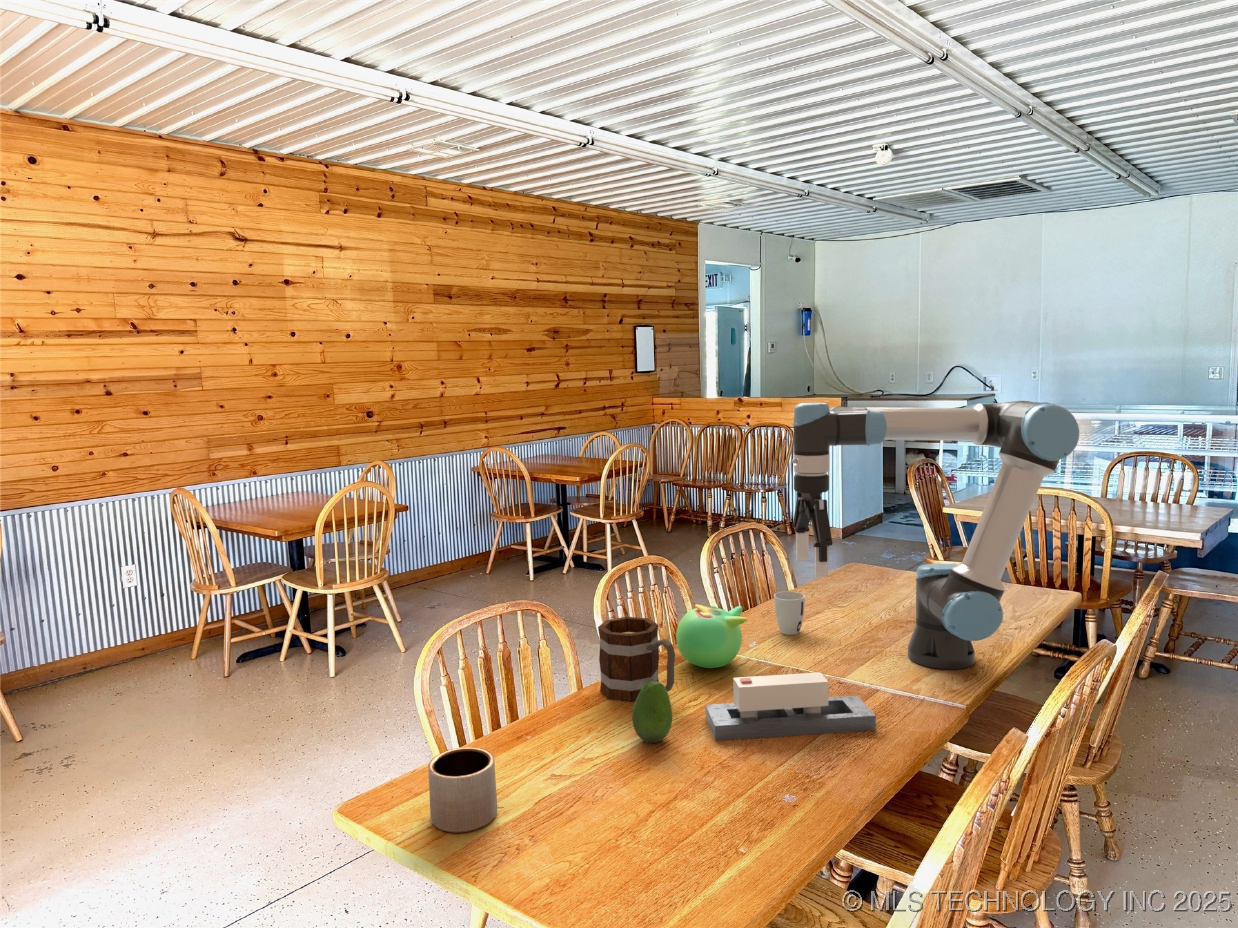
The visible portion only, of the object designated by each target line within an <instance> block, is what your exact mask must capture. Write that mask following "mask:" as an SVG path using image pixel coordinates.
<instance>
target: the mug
mask: <svg viewBox="0 0 1238 928" xmlns="http://www.w3.org/2000/svg"><path fill="white" fill-rule="evenodd" d="M597 630H598V636H599V657H598V658H599V659H598V660H599V668H600V669H599V670H600V686H599V687H600V689H599V692H600V693H601V694H602V695H603V696H604V697H606V698H607V699H608V700H609V701H618V702H623V703H624V702H625V703H635V701H636V699H637V697H638V695H639V693H640V690H641V689H642V687H643V686H644V684H646V683H648V682H650V681H658V682H660V679H659V661H660V653H659V652H660V651H659V647H661V646H663V647H665V649H666V653H667V662H666V685H665V688H666V690H667V692H669V691H671V690H672V689H673V687H674V683H675V662H676V660H675V659H676V652H675V649H674V645H673V643H672V642H671V641H669V640H668V639H667V638H664V639H658V634H659V624H658V623H657V622H655V621H653V620H652V619H650V618H648V617H647V618H646V617H636V616H635V617H634V616H623V617H617V618H610V619H606V620H604V621H603V622H601V624H599V626H598V627H597Z"/></svg>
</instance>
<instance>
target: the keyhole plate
mask: <svg viewBox="0 0 1238 928" xmlns="http://www.w3.org/2000/svg"><path fill="white" fill-rule="evenodd" d="M876 719H877V717H876V714H875V713H874V712H873V711H872V710H871V709H870V707H868V705H867V704H866V703H865V702H864V701H863V700H862V699H861V698H860V697H859V695H858V694H857V695H841V696H828V706H821V713H811V714H804V707H803V708H788V709H774V710H759V711H757V718H756V717H748V718H740V712H739V710H738V709H737V707H736V705H735V703H734V702H729V703H728V702H727V703H714V704H713V703H712V704H705V720H706V723H707V725H708V728H709V730H710V733H711V734H712V737H713V738H714V741H716V742H717V741H718V742H719V741H730V740H731V741H732V740H745V739H746V740H747V739H759V738H774V737H775V738H776V737H791V736H793V737H794V736H808V735H810V736H811V735H822V734H823V735H824V734H835V733H836V734H837V733H839V734H840V733H853V732H854V733H855V732H867V731H868V732H869V731H876V730H877V727H876V725H877V724H876V723H877V722H876V721H877V720H876Z"/></svg>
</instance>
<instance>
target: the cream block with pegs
mask: <svg viewBox="0 0 1238 928" xmlns="http://www.w3.org/2000/svg"><path fill="white" fill-rule="evenodd" d="M732 681H733V683H732V685H733V687H732V688H733V693H732V694H733V703H735V705H736V707H737V709H738V710H739V712H740V718H748V717H756V718H757V711H759V710H774V709H788V708H803V707H804V714H811V713H821V706H828V697H829V680H828V679H827V678H826V677H825V676H824V675H823V674H822V673H821V672H820V671H819V672H818V671H817V672H805V673H803V672H801V673H788V674H776V675H775V674H773V675H758V676H755V675H754V676H742V677H739V676H738V677H733V679H732Z"/></svg>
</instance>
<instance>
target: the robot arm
mask: <svg viewBox="0 0 1238 928" xmlns="http://www.w3.org/2000/svg"><path fill="white" fill-rule="evenodd" d="M792 426H793V459H791V463H792V464H793V472H795V474H794V475H793V489H794V492H796V503H795V508H794V515H793V521H792V528H793V529H794V531H795V547H796V548H795V558H796V559H795V561H796V562H808V561H809V559H810V555H809V554H810V553H809V551H810V550H809V549H810V547H809V546H810V545H809V539H810V537H809V535H810V534H809V532H811V530H810V528H809V526H810V525H809V524H810V522H811V528H812V531H813V536H814V539H815V543H814V544H813V546H812V547H813V548H814V577H818V578H819V577H829V547H830V546H833V537H832V533H831V532H832V531H831V525H830V518H829V512H828V500H827V499H822V494H823V493H827V492H829V490H830V475H829V474H828V472H830V447H833V446H834V447H837V446H867V447H869V446H871V445H881V444H882V443H884V442H885V440H886V441H887V440H888V441H889V440H890V441H893V440H894V441H896V440H897V441H953V442H954V441H961V442H962V441H963V442H964V441H965V442H966V441H967V442H969V441H970V442H972V443H973V444H974V445H975V446H989V447H997V448H1000V449H999V452H998V455H999V457H1000V460H1001V461H1002V465H1001V467H1000V469H999V472H998V474H997V477H996V479H995V480H994V483H993V486H992V489H991V490H990V494H989V496H988V498H987V500H986V503H985V505H984V508H983V511H982V514H981V515H980V517H979V521H978V523H977V525H976V527H975V529H974V532H973V534H972V537H971V540H970V541H969V544H968V547H967V549H966V551H965V554H964V556H963V559H962V562H961V563H960V564H954V563H928V564H927V563H926V564H921V565H919V566H918V568H917V569H916V576H915V591H916V592H915V626H914V629H913V632H912V634H911V637H910V639H909V641H908V645H907V657H908V659H909V660H910V661H911V662H914V663H915V664H918V665H920V666H924V667H927V668H934V669H941V670H961V669H966V668H969V667H971V666H973V665H975V661H976V660H975V659H976V657H975V656H976V652H975V649H974V644H973V642H978V641H982V640H984V639H988V638H989V637H992V635H994V634H995V633H996V632H997V631H998V630H999V629H1000V627H1001V624H1002V622H1003V619H1004V618H1003V617H1004V610H1003V609H1002V604H1001V600H1002V598H1003V594H1004V593H1005V590H1006V588H1005V585H1004V583H1003V581H1002V578H1003V576H1004V575H1003V574H1004V572H1005V569H1006V568H1007V565H1008V563H1009V561H1010V558H1011V556H1012V553H1013V551H1014V548H1015V546H1016V544H1017V541H1018V539H1019V537H1020V534H1021V532H1022V530H1023V528H1024V526H1025V522H1026V521H1027V520H1026V519H1028V518H1027V517H1028V515H1029V513H1030V510H1031V508H1032V506H1033V503H1034V501H1035V499H1036V496H1037V495H1038V491H1039V489H1040V487H1041V484H1042V482H1043V480H1044V478H1045V477H1047V476H1049V475H1051V474H1054V473H1055V472H1056V469H1057V466H1058V464H1059V462H1060V460H1062V459H1064V458H1066V457H1067V456H1069V455H1070V454H1072V453H1073V451H1074V450H1075V449H1076V447H1077V445H1078V443H1079V440H1080V427H1079V424H1078V421H1077V419H1076V418H1075V416H1074V415H1073V414H1072V413H1071V412H1070V411H1069V409H1067V408H1065V407H1064V406H1060V405H1057V404H1055V403H1050V402H1047V401H1046V402H1038V401H1031V400H1030V401H1029V400H1028V401H1027V400H1014V401H1006V402H1005V401H1004V402H996V403H995V402H994V403H977V404H975V405H974V406H973V407H881V406H880V407H877V406H876V407H875V406H874V407H872V406H871V407H870V406H869V407H868V406H867V407H863V406H862V407H861V406H859V407H858V406H856V407H852V406H851V407H849V406H845V405H839V406H838V405H837V406H834V407H831V408H830V405H829V403H826V402H801V403H798V404H796V405H795V406H794V409H793V423H792Z"/></svg>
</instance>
